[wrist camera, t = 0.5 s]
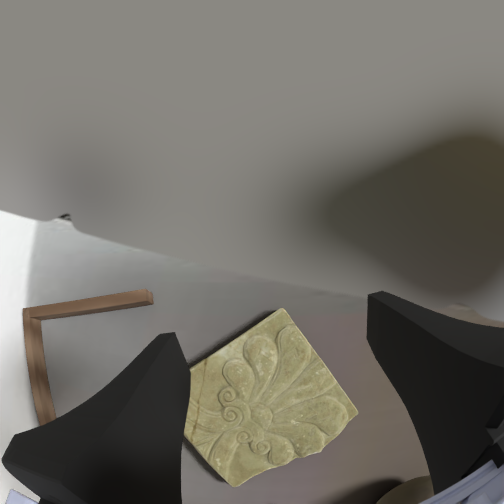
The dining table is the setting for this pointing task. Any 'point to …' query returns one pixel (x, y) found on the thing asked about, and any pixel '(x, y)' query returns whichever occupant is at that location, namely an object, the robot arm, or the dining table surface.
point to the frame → (61, 310)
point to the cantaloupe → (410, 492)
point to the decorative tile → (263, 402)
